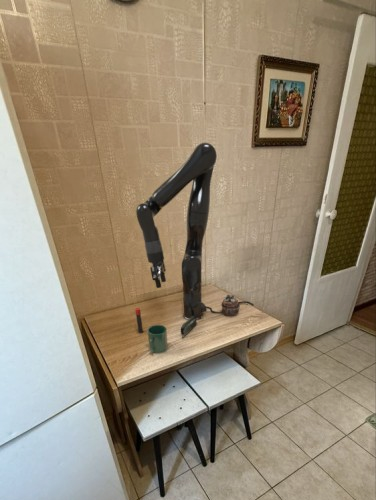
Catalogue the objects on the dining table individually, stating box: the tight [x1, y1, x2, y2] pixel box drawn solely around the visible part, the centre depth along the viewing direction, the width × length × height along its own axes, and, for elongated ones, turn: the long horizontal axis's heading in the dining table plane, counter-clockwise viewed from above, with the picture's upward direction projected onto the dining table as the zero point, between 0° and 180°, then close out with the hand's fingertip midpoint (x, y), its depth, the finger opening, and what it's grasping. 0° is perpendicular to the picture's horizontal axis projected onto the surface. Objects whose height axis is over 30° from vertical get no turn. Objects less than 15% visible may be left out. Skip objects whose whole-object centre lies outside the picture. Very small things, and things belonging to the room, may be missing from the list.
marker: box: [134, 307, 144, 334], centre depth 131 cm, size 2×2×12 cm
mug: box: [147, 324, 169, 354], centre depth 120 cm, size 11×8×10 cm
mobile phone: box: [180, 316, 197, 339], centre depth 134 cm, size 5×3×15 cm
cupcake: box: [220, 294, 241, 318], centre depth 146 cm, size 10×10×10 cm
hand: (161, 284), depth 135 cm, fingers open, 8 cm apart
